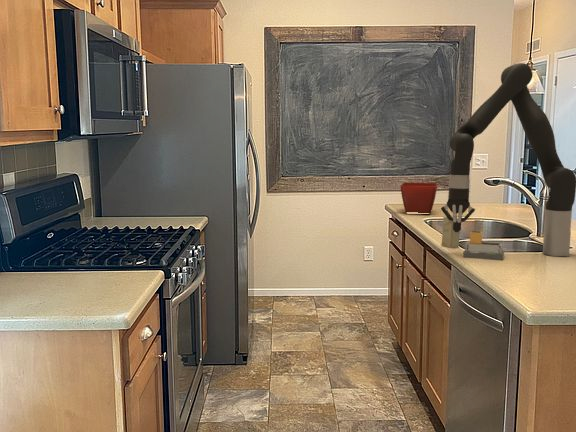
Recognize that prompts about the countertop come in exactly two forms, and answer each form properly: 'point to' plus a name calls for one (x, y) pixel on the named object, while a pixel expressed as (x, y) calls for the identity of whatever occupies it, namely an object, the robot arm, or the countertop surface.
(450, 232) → the skincare box
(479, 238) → the toggle
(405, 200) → the plant pot
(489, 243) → the grey tray
